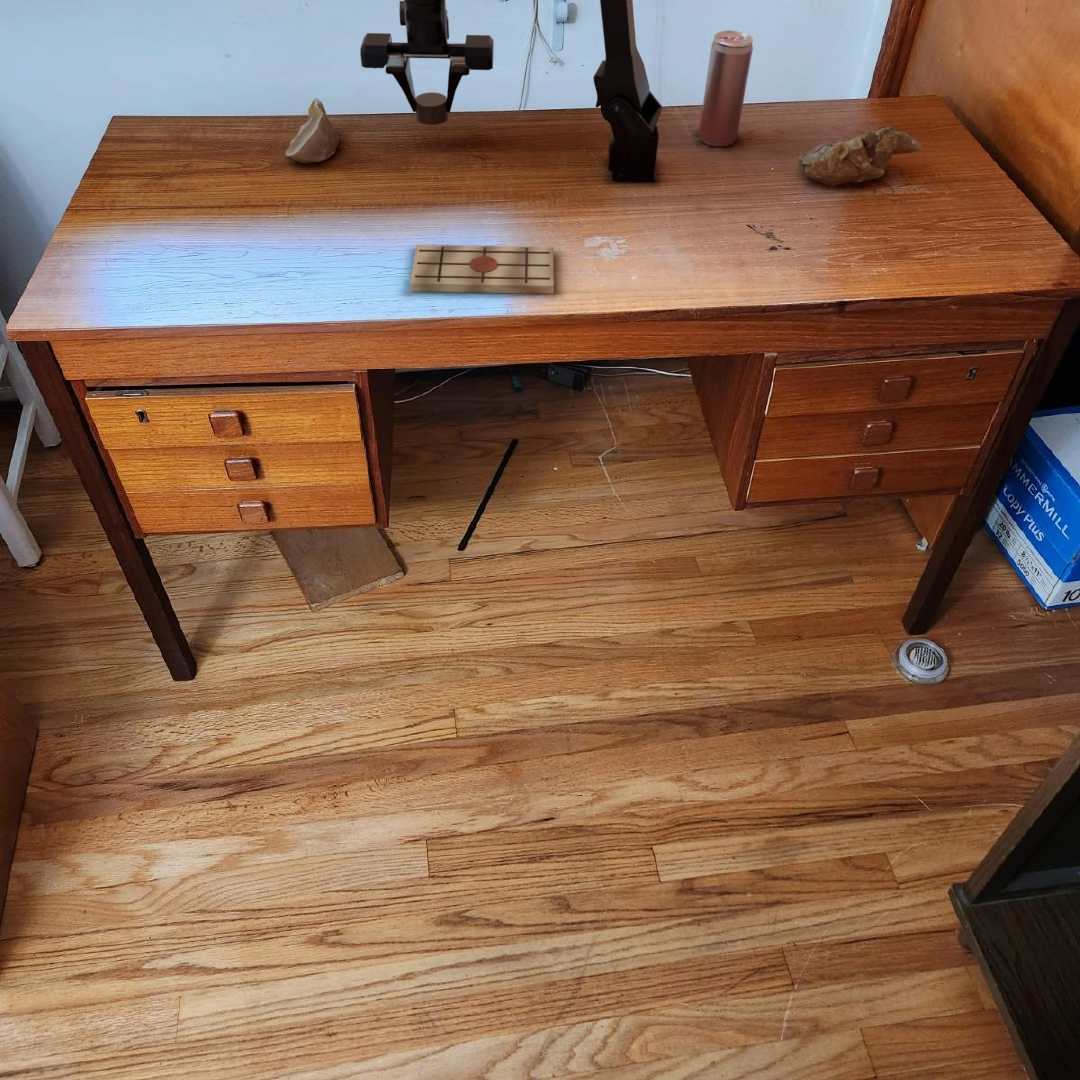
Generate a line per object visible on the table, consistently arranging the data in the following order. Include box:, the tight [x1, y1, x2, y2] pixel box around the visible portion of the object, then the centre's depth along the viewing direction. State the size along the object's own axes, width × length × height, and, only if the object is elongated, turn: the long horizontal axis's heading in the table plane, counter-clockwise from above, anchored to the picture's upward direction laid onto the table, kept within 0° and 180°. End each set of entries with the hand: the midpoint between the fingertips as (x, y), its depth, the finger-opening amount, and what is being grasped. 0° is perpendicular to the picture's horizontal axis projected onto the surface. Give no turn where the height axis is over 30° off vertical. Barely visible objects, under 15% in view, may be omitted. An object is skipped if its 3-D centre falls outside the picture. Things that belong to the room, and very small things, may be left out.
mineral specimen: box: [797, 125, 922, 187], centre depth 141 cm, size 13×7×15 cm
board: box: [409, 244, 555, 295], centre depth 123 cm, size 18×9×1 cm, turn 90°
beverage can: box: [698, 30, 754, 148], centre depth 144 cm, size 6×6×15 cm
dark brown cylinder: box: [415, 92, 449, 126], centre depth 143 cm, size 5×5×3 cm
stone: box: [285, 97, 339, 164], centre depth 144 cm, size 7×6×15 cm
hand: (432, 111), depth 144 cm, fingers closed on dark brown cylinder, 5 cm apart
